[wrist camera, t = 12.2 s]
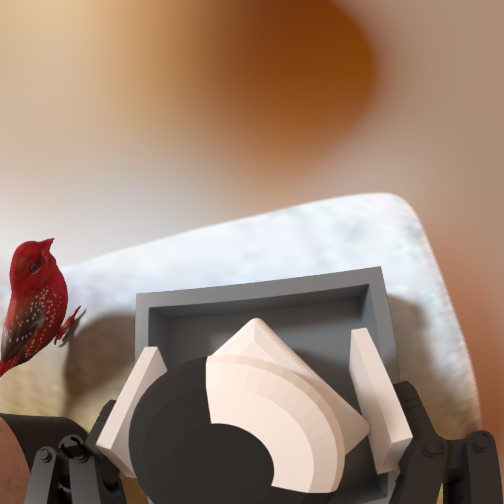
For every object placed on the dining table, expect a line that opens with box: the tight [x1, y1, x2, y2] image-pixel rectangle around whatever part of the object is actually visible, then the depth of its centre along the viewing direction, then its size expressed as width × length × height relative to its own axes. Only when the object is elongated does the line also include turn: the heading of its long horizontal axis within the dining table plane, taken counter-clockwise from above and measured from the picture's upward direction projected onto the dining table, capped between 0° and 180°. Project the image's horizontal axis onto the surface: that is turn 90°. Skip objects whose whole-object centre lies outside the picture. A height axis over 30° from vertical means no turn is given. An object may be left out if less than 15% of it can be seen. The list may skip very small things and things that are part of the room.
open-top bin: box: [135, 266, 400, 504], centre depth 16 cm, size 16×16×4 cm
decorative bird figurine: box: [0, 238, 81, 377], centre depth 18 cm, size 3×18×10 cm, turn 142°
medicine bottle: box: [128, 318, 371, 504], centre depth 11 cm, size 7×7×12 cm
